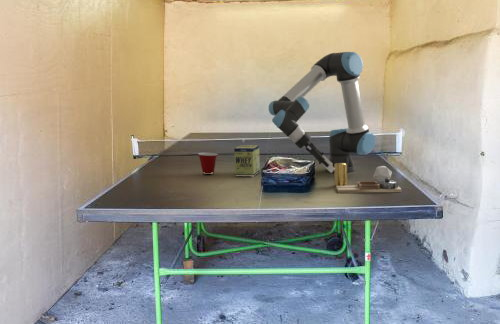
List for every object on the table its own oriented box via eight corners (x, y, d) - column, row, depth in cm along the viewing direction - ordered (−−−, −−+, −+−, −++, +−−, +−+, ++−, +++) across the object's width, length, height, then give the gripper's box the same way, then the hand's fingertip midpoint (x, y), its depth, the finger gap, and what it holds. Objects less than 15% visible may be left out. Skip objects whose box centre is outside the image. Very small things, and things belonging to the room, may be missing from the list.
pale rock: (383, 181, 269) (371, 166, 267) (397, 174, 263) (385, 159, 262) (379, 189, 262) (367, 174, 261) (394, 182, 257) (382, 167, 255)
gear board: (336, 188, 252) (336, 181, 251) (397, 187, 250) (397, 180, 249) (338, 192, 242) (338, 186, 242) (401, 191, 240) (401, 184, 240)
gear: (375, 185, 250) (375, 176, 250) (395, 184, 250) (395, 176, 249) (378, 189, 241) (378, 180, 240) (399, 189, 240) (399, 180, 240)
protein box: (234, 177, 289) (233, 148, 286) (242, 171, 304) (241, 144, 301) (253, 177, 286) (252, 148, 284) (260, 172, 301) (259, 144, 299)
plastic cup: (221, 174, 297) (220, 153, 295) (202, 176, 293) (201, 154, 291) (215, 171, 307) (214, 151, 305) (196, 173, 303) (195, 152, 301)
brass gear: (334, 185, 259) (334, 162, 258) (346, 185, 259) (346, 162, 257) (335, 187, 254) (335, 164, 252) (347, 187, 253) (347, 164, 251)
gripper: (294, 139, 266) (324, 169, 267) (294, 146, 241) (328, 178, 243) (304, 129, 265) (335, 158, 266) (306, 134, 240) (340, 167, 241)
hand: (332, 168), depth 254 cm, fingers open, 13 cm apart
